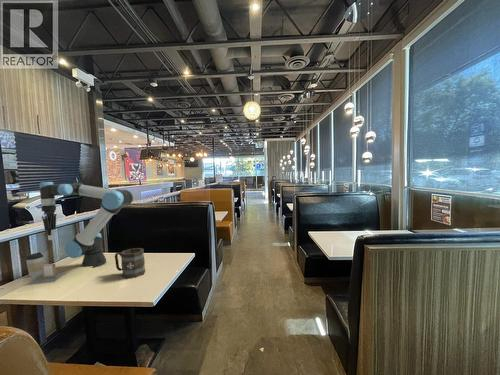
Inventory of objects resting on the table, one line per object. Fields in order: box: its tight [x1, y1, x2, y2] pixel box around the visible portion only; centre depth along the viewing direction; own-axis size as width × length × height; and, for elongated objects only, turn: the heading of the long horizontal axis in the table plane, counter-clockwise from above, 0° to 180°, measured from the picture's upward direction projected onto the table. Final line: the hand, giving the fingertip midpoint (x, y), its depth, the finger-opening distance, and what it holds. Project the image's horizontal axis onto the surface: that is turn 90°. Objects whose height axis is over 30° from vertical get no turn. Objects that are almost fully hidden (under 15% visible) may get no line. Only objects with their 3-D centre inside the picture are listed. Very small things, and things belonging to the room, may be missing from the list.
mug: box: [114, 247, 146, 279], centre depth 165 cm, size 20×14×15 cm
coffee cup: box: [25, 251, 45, 278], centre depth 170 cm, size 9×9×15 cm
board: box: [24, 272, 69, 286], centre depth 162 cm, size 16×16×1 cm
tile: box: [42, 263, 57, 278], centre depth 165 cm, size 6×2×8 cm, turn 100°
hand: (51, 239), depth 176 cm, fingers closed
